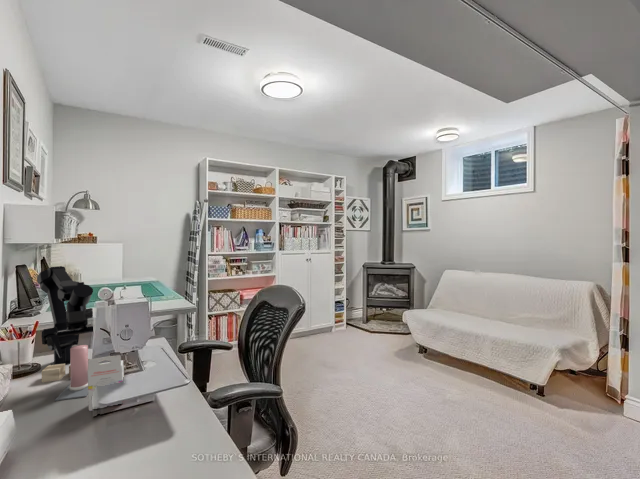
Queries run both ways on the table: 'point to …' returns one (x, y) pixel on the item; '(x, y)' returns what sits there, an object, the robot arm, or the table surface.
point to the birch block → (53, 372)
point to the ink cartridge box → (103, 373)
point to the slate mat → (72, 394)
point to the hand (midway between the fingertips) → (78, 354)
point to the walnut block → (70, 371)
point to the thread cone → (79, 367)
